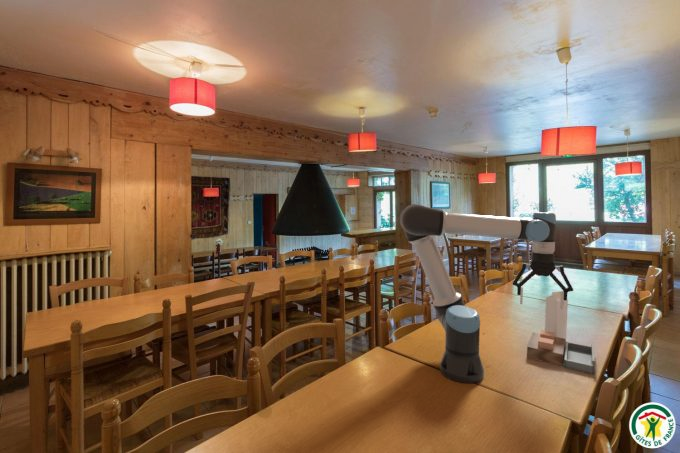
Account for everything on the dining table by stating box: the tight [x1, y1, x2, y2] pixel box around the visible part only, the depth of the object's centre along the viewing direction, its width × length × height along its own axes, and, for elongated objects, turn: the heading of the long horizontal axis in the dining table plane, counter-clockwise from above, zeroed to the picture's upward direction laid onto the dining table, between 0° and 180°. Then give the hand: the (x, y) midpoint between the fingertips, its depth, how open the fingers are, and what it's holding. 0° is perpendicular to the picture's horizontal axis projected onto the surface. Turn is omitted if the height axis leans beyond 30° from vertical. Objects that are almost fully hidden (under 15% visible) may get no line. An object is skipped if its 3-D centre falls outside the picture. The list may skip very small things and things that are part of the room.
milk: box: [544, 290, 569, 342], centre depth 152 cm, size 6×6×22 cm
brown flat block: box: [526, 332, 566, 367], centre depth 139 cm, size 12×18×4 cm, turn 144°
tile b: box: [539, 329, 555, 341], centre depth 142 cm, size 5×5×2 cm
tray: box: [563, 341, 596, 375], centre depth 132 cm, size 9×20×5 cm, turn 144°
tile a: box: [538, 337, 554, 350], centre depth 135 cm, size 5×5×2 cm
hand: (540, 305), depth 132 cm, fingers open, 13 cm apart
